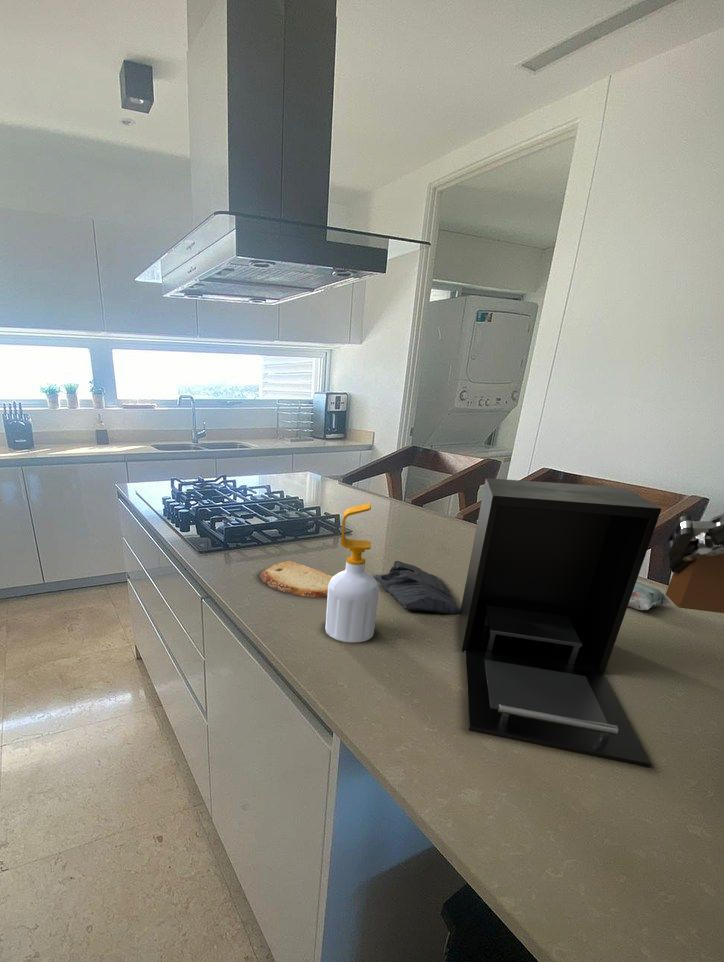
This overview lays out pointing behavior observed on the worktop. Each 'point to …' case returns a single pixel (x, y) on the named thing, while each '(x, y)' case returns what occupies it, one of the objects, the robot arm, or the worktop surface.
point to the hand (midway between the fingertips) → (702, 568)
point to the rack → (531, 627)
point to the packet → (699, 585)
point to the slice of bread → (297, 579)
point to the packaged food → (646, 597)
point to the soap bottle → (352, 592)
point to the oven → (553, 612)
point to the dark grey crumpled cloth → (417, 589)
